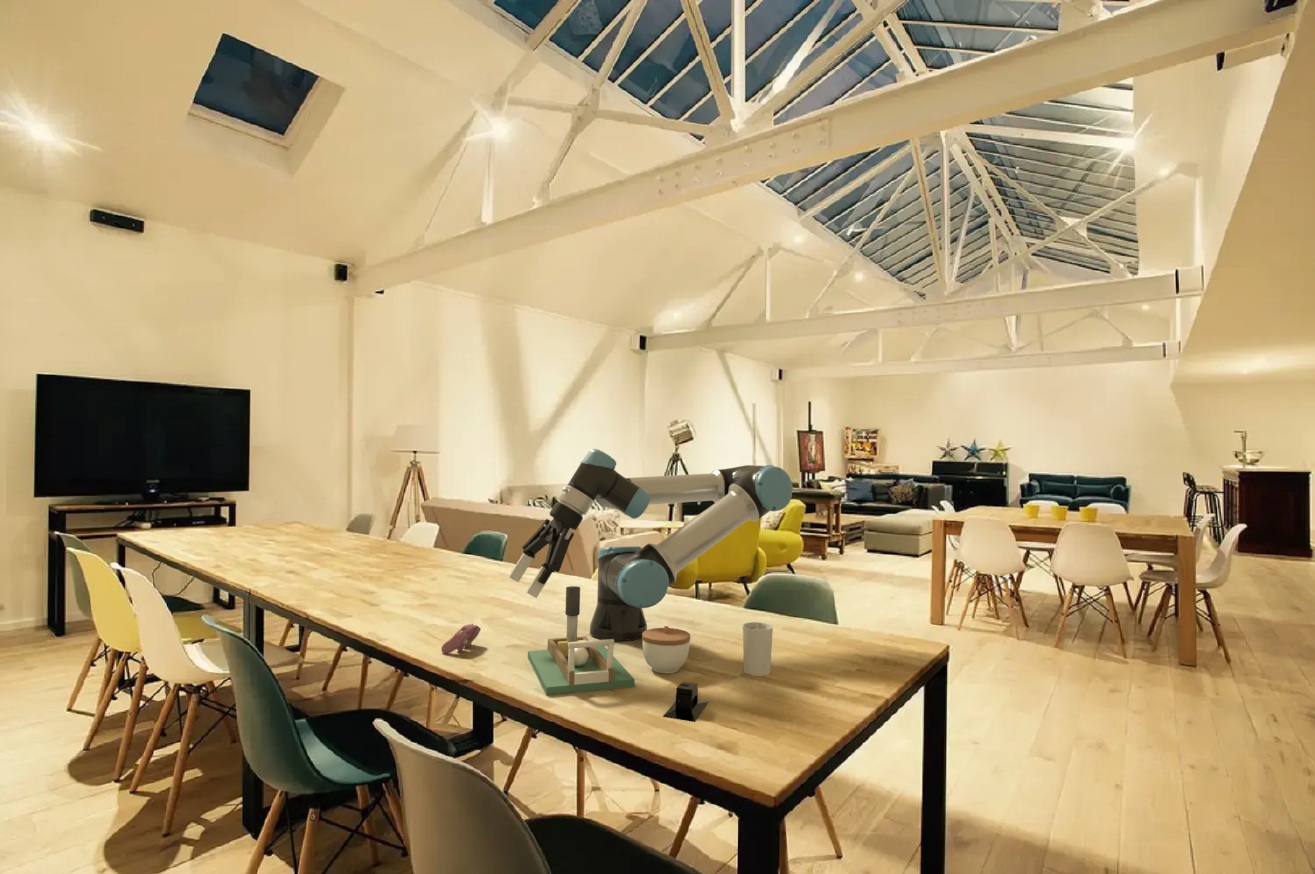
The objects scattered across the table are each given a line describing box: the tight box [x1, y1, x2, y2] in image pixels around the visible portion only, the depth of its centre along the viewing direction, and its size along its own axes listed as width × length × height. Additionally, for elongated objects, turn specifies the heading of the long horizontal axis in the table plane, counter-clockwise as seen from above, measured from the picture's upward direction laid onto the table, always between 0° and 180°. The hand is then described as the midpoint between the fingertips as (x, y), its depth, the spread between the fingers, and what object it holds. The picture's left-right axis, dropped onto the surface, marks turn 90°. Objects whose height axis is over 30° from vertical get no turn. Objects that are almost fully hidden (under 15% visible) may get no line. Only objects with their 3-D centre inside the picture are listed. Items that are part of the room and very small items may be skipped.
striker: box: [558, 585, 587, 657], centre depth 149 cm, size 6×3×15 cm, turn 109°
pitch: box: [527, 635, 636, 696], centre depth 142 cm, size 18×25×10 cm
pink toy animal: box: [441, 623, 482, 654], centre depth 157 cm, size 10×5×7 cm, turn 169°
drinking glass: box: [742, 621, 774, 677], centre depth 145 cm, size 7×7×10 cm
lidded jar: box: [641, 625, 691, 674], centre depth 145 cm, size 11×11×9 cm
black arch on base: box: [662, 681, 710, 723], centre depth 122 cm, size 13×8×5 cm, turn 161°
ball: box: [574, 648, 589, 666], centre depth 141 cm, size 4×4×4 cm
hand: (521, 587), depth 151 cm, fingers open, 13 cm apart
